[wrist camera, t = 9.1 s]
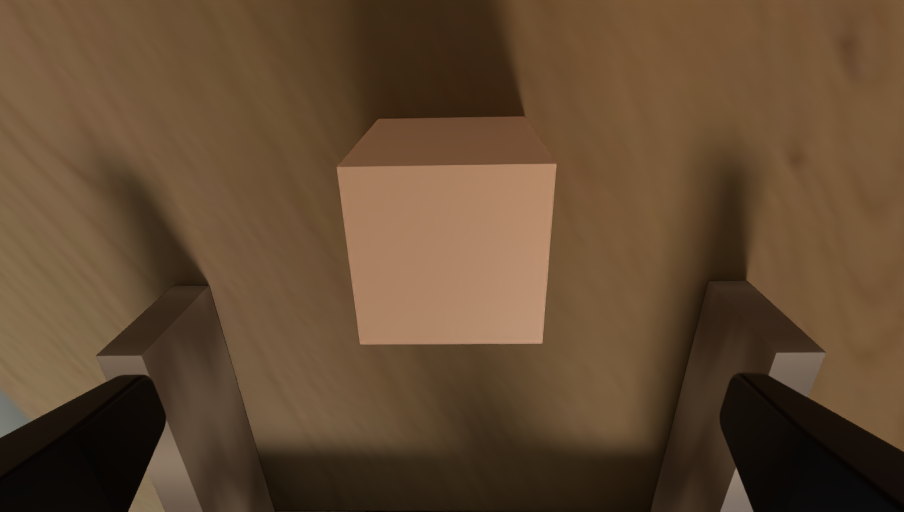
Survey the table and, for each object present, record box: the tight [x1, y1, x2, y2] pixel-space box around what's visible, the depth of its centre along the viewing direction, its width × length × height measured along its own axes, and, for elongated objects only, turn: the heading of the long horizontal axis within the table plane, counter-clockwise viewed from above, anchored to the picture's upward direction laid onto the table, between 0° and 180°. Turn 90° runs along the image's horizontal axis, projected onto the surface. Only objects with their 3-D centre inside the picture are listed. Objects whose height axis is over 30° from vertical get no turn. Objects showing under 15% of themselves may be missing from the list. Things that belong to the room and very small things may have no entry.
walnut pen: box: [96, 281, 826, 512], centre depth 20 cm, size 16×23×4 cm
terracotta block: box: [337, 116, 556, 344], centre depth 15 cm, size 5×5×6 cm
